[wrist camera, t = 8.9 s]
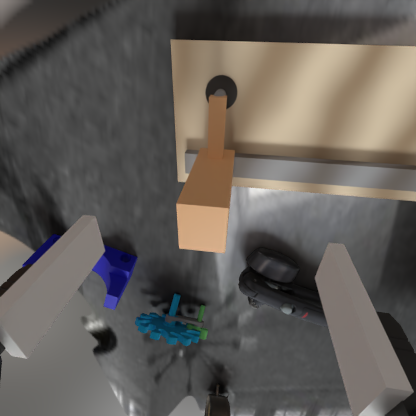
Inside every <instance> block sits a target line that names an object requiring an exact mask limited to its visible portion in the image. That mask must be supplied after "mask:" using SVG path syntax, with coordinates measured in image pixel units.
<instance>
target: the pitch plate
mask: <svg viewBox="0 0 416 416" xmlns="http://www.w3.org/2000/svg"><path fill="white" fill-rule="evenodd" d="M171 55H172V74H173V93H174V112H175V131H176V150H177V169H178V182H186V180H187V178H188V176H189V173H190V171H191V169H192V167H193V164H194V162H195V160H196V157H197V155H198V153H199V150H200V148H208V116H209V97H210V95H214V94H215V92H216V91H217V90H218V89H223V90H224V91H225V92H226V96H227V106H226V122H225V138H224V149H226V150H235V155H234V166H233V177H232V186H239V187H251V188H263V189H275V190H287V191H299V192H311V193H323V194H335V195H347V196H359V197H371V198H383V199H395V200H407V201H416V46H388V45H351V44H315V43H279V42H242V41H206V40H171Z"/></svg>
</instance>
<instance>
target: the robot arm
mask: <svg viewBox="0 0 416 416" xmlns="http://www.w3.org/2000/svg"><path fill="white" fill-rule="evenodd" d="M104 252H105V248H104V245H103V241H102V238H101V234H100V230H99V227H98V223H97V220H96V216H88V215H83V216H82V217H81V218H80V219H79V220H78V221H77V222H76V223H75V224H74V225H73V226H72V227H71V228H70V229H69V230H68V231H67V232H66V233H65V234H64V235H63V236H62V237H61V238H60V239H59V240H58V241H57V242H56V243H55V244H54V245H53V246H52V247H51V248H50V249H49V250H48V251H47V252H46V253H45V254H43V255H42V256H41V257H40V258H39V259H38V260H37V261H36V262H35V263H34V264H27V265H26V266H24V267H22V268H21V269H19V270H18V271H16V272H15V273H14V274H13V275H12V276H11V277H10V278H9V279H8V280H7V282H5V283H3V284H2V285H1V286H0V354H1V353H2V352H3V351H4V349H6V350H7V351H8V352H9V353H10V355H12V356H16V357H21V358H26V359H28V357H29V356H30V355H31V353H32V352H33V350H34V349H35V348H36V346H37V345H38V344H39V342H40V341H41V339H42V338H43V337H44V335H45V334H46V332H47V331H48V330H49V328H50V327H51V325H52V324H53V323H54V321H55V320H56V319H57V317H58V316H59V314H60V313H61V312H62V310H63V309H64V307H65V306H66V305H67V303H68V302H69V301H70V299H71V298H72V296H73V295H74V294H75V292H76V291H77V289H78V288H79V287H80V285H81V284H82V283H83V281H84V280H85V278H86V277H87V276H88V274H89V273H90V271H91V270H92V269H93V267H94V266H95V265H96V263H97V262H98V260H99V259H100V258H101V256H102V255H103V253H104ZM315 281H316V284H317V288H318V291H319V295H320V299H321V302H322V306H323V310H324V313H325V317H326V320H327V324H328V328H329V331H330V335H331V338H332V342H333V346H334V349H335V353H336V356H337V360H338V364H339V367H340V371H341V375H342V378H343V382H344V385H345V389H346V393H347V396H348V400H349V403H350V407H351V411H352V414H353V416H416V353H414V349H413V348H412V346H411V344H410V342H408V338H407V336H406V335H405V333H404V331H403V329H402V327H401V326H400V324H399V323H398V322H397V321H396V320H395V319H394V318H393V317H392V316H391V315H390V314H389V313H382V312H376V311H375V309H374V307H373V305H372V303H371V301H370V298H369V296H368V294H367V292H366V290H365V288H364V286H363V284H362V282H361V279H360V277H359V275H358V273H357V271H356V269H355V267H354V265H353V263H352V260H351V258H350V256H349V254H348V252H347V250H346V248H345V246H344V244H337V243H328V246H327V248H326V251H325V253H324V256H323V258H322V261H321V263H320V266H319V268H318V271H317V273H316V276H315ZM1 365H2V360H1V356H0V378H1Z"/></svg>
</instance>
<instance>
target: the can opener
mask: <svg viewBox="0 0 416 416" xmlns="http://www.w3.org/2000/svg"><path fill="white" fill-rule="evenodd" d="M246 260H247V263H248V264H249V265H250V267H248V268H246V269H245V270H243V272H242V273H241V275H240V277H239V284H238V285H239V289H240V291H241V292H242V293H243V294H244V295H246V296H248V300H249V304H250V306H251V307H252V308H255V309H256V308H259V306H260V307H261V305H263V304H266V305H268V306H271V307H273V308H275V309H277V310H279V311H282V312H284V313H286V314H289V315H292V316H294V317H297V318H299V319H302V320H305V321H308V322H311V323H314V324H317V325H321V326H324V327H328V324H327V320H326V317H325V313H324V310H323V306H322V302H321V299H320V295H319V293H317V292H314V291H312V290H309V289H306V288H303V287H300V286H298V285H295V284H293V283H291V282H292V281H293V280H294V278H295V277H296V275H297V273H298V271H299V266H298V265H297V264H296V263H295V262H294V261H293V260H291V259H290V258H288V257H287V256H285V255H283V254H281V253H278V252H276V251H273V250H269V249H265V248H258V249H257V250H255V251H254V252H253V253H252V254H251V255H250V256H249V257H247V259H246Z"/></svg>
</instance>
